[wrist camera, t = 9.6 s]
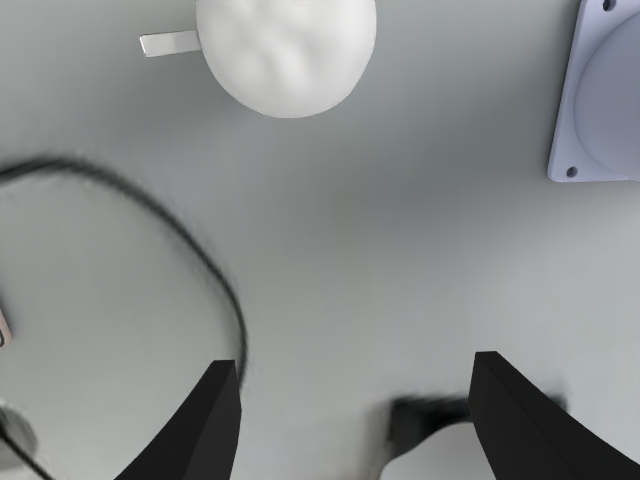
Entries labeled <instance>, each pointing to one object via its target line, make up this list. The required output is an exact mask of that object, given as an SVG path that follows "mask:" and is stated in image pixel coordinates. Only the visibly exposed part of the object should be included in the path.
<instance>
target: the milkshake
mask: <svg viewBox="0 0 640 480" xmlns="http://www.w3.org/2000/svg"><path fill="white" fill-rule="evenodd" d="M196 22H197V30H188V31H178V32H167V33H156V34H145V35H140V36H139V40H140V44H141V48H142V51H143V54H144V57H145V58H153V57H160V56H166V55H173V54H179V53H186V52H192V51H199V50H202V51H203V54H204V56H205V59H206V61H207V63H208V65H209V67H210V69H211V71H212V73H213V75H214V76H215V78H216V79H217V81H218V82H219V83H220V85H221V86H222V87H223V88H224V89H225V90H226V91H227V92H228V93H229V94H230V95H231V96H232V97H234V98H235V99H236V100H238V101H239V102H240V103H242V104H244V105H245V106H247V107H249V108H250V109H252V110H254V111H257V112H259V113H261V114H264V115H267V116H271V117H277V118H299V117H307V116H312V115H316V114H319V113H321V112H324V111H326V110H328V109H330V108H332V107H333V106H335V105H337V104H338V103H340V102H341V101H342V100H343V99H345V98H346V97H347V96H348V95H349V94H350V92H351V91H352V90H353V89H354V87H355V86H356V84H357V83H358V81H359V79H360V78H361V76H362V74H363V72H364V70H365V68H366V66H367V64H368V62H369V60H370V57H371V55H372V52H373V48H374V44H375V39H376V26H377V21H376V7H375V1H374V0H196Z"/></svg>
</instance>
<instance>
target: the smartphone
mask: <svg viewBox="0 0 640 480" xmlns="http://www.w3.org/2000/svg"><path fill="white" fill-rule="evenodd" d="M11 340H12V335H11V332H10V330H9V327H8V325H7V323H6V320H5V318H4V315H3V313H2V311H1V308H0V348H3V347H5V346H7V345H8V344H9V343H10V342H11Z"/></svg>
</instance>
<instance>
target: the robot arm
mask: <svg viewBox="0 0 640 480" xmlns="http://www.w3.org/2000/svg"><path fill="white" fill-rule="evenodd" d="M603 3H604V0H582V1H581V4H580V7H579V12H578V17H577V22H576V27H575V32H574V38H573V43H572V48H571V53H570V58H569V63H568V68H567V73H566V78H565V83H564V88H563V93H562V98H561V103H560V108H559V114H558V119H557V124H556V129H555V134H554V139H553V144H552V149H551V154H550V159H549V164H548V169H547V175H548V177H549V178H550V179H551V180H553V181H554V182H585V181H612V180H636V181H638V182H640V0H610V6H609V8H608V9H607V10H606V11H605V10H604V9H603ZM570 167H573V171H572V173H570V174H569V175H566V172H567V170H568V169H569V168H570ZM468 406H469V409H470V413H471V416H472V420H473V423H474V426H475V430H476V433H477V436H478V438H479V441H480V443H481V445H482V448H483V450H484V452H485V455H486V457H487V459H488V462H489V464H490V466H491V468H492V470H493V473H494V475H495V477H496V480H640V465H639V464H638V463H636V462H635V461H633V460H631V459H630V458H628V457H627V456H625V455H624V454H622V453H621V452H619V451H618V450H617V449H615V448H614V447H612V446H611V445H609V444H608V443H606V442H605V441H603V440H602V439H601V438H599V437H598V436H596V435H595V434H594V433H592V432H591V431H590V430H588V429H587V428H586V427H584V426H583V425H582V424H581V423H579V422H578V421H577V420H575V419H574V418H573V417H571V416H570V415H569V414H568V413H566V412H565V411H564V410H563V409H562V408H560V407H559V406H558V405H557V404H555V403H554V402H553V401H552V400H551V399H549V398H548V397H547V396H546V395H545V394H544V393H543V392H541V391H540V390H539V389H538V388H537V387H536V386H535V385H533V384H532V383H531V382H530V381H529V380H528V379H527V378H526V377H524V376H523V375H522V374H521V373H520V372H519V371H518V370H517V369H516V368H514V367H513V366H512V365H511V364H510V363H509V362H508V361H507V360H506V359H505V358H503V357H502V356H501V355H500V354H499V353H498V352H497V351H487V352H476V354H475V360H474V366H473V372H472V379H471V385H470V391H469V397H468ZM241 412H242V409H241V402H240V395H239V388H238V381H237V374H236V367H235V360H214V361H213V362H212V363H211V364H210V366H209V367H208V369H207V370H206V371H205V373H204V374H203V376H202V377H201V379H200V380H199V382H198V383H197V384H196V386H195V387H194V389H193V390H192V391H191V393H190V394H189V395H188V397H187V398H186V399H185V401H184V402H183V403H182V405H181V406H180V407H179V409H178V410H177V411H176V412H175V414H174V415H173V416H172V417H171V419H170V420H169V421H168V422H167V423H166V425H165V426H164V427H163V428H162V429H161V431H160V432H159V433H158V434H157V435H156V436H155V438H154V439H153V440H152V441H151V442H150V443H149V444H148V446H147V447H146V448H145V449H144V450H143V451H142V452H141V453H140V454H139V455H138V456H137V457H136V458H135V459H134V460H133V461H132V462H131V463H130V464H129V465H128V466H127V467H126V468H125V469H124V470H123V471H122V472H121V473H120V474H119V475H118V476H117V477H116V478H115V479H114V480H229V479H230V475H231V471H232V467H233V462H234V458H235V454H236V449H237V445H238V438H239V430H240V421H241Z"/></svg>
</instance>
